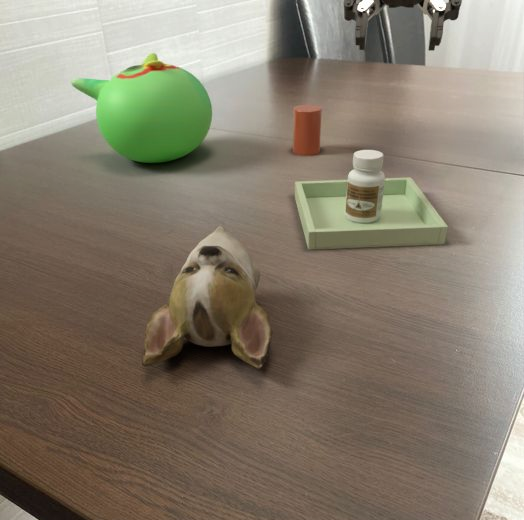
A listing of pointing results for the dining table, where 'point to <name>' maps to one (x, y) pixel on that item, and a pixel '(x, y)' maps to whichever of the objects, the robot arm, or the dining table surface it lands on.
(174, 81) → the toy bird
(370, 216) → the pill bottle
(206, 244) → the ceramic sculpture
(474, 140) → the dining table surface
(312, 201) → the sage tray
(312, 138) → the terracotta cylinder
